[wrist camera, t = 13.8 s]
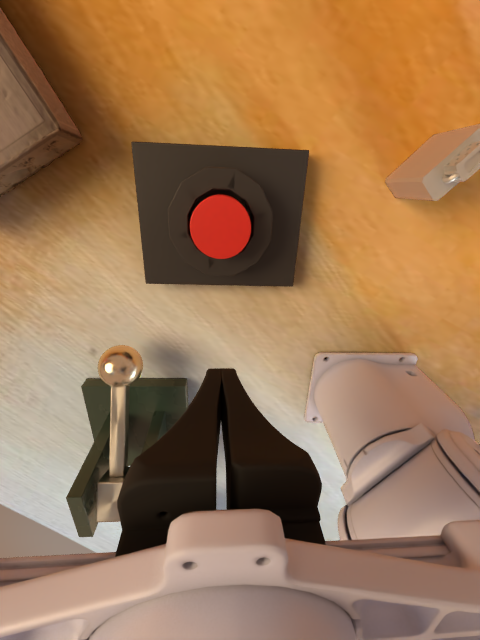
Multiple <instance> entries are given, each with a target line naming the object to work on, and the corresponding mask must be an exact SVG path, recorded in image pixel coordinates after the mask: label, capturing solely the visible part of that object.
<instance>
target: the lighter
mask: <svg viewBox="0 0 480 640" xmlns="http://www.w3.org/2000/svg"><path fill="white" fill-rule="evenodd" d="M479 169H480V124H477V125H473V126H469V127H465V128H460V129H456V130H452V131H448V132H443V133H439V134H435V135H433V136H432V137H431V138H430V139H428V140H427V141H426V142H425V143H424V144H423V145H422V146H421V147H420V148H419V149H418V150H416V151H415V152H414V153H413V154H412V155H411V156H410V157H409V158H408V159H407V160H406V161H404V162H403V163H402V164H401V165H400V166H399V167H398V168H397V169H396V170H395V171H394V172H393V173H391V174H390V175H389V176H388V177H387V178H386V180H385V183H386V185H387V186H388V188H389V189H390V191H391V192H392V194H393V195H394V197H395V198H406V199H419V200H432V201H438V200H439V199H440V198H441V197H443V196H444V195H445V194H446V193H447V192H449V191H450V190H451V189H452V188H453V187H454V186H456V185H457V184H458V183H459V182H464V181H466V180H467V179H468V178H469V177H471V176H472V175H473V174H474V173H475V172H477V171H478V170H479Z"/></svg>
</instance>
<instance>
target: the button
mask: <svg viewBox="0 0 480 640" xmlns="http://www.w3.org/2000/svg"><path fill="white" fill-rule="evenodd" d="M190 233H191V237H192V240H193V242H194V244H195V245H196V246H197V248H198V249H199V250H200V251H201V252H202V253H204V254H205V255H207V256H209V257H212V258H216V259H226V258H230V257H233V256H235V255H237V254H238V253H240V252H241V251H242V250H243V249H244V248H245V246H246V245H247V243H248V241H249V238H250V235H251V221H250V217H249V215H248V212H247V211H246V209H245V208H244V206H243V205H242V204H241V203H240V202H239V201H238V200H236V199H235V198H233V197H231V196H228V195H223V194H217V195H212V196H209V197H207V198H206V199H204V200H203V201H202V202H200V203H199V204H198V205H197V207H196V208H195V210H194V211H193V213H192V216H191V219H190Z"/></svg>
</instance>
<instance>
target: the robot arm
mask: <svg viewBox="0 0 480 640" xmlns="http://www.w3.org/2000/svg"><path fill="white" fill-rule="evenodd" d="M325 357H328V358H327V359H324V358H325ZM401 357H402V358H401ZM400 358H401V359H400ZM399 359H400V360H399ZM416 362H417V356H416V355H415V354H414V353H323V352H320V353H317V354H316V355H315V357H314V362H313V367H312V373H311V379H310V385H309V391H308V397H307V403H306V408H305V414H304V419H305V421H306V422H323V423H324V426H325V428H326V430H327V433H328V435H329V438H330V440H331V442H332V445H333V447H334V450H335V452H336V454H337V457H338V459H339V462H340V464H341V467H342V469H343V471H344V474H345V476H346V479H347V481H346V482H345V484H344V485H343V486H342V487H341V491H342V493H343V496H344V498H345V501H346V504H347V505H345V506H344V507H343V508H341V510H340V512H339V514H338V531H339V536H340V540H339V541H325V540H324V537H323V533H322V530H321V526H320V523H319V521H320V514H319V511H318V507H317V506H318V502H319V498H320V494H321V489H322V483H321V480H320V476H319V474H318V471H317V469H316V467H315V465H314V463H313V461H312V459H311V457H310V456H309V454H308V453H307V452H306V451H304V450H303V449H301V448H300V447H298V446H297V445H295V444H294V443H292V442H291V441H290V440H288V439H287V438H286V437H284V436H283V435H282V434H281V433H280V432H279V431H278V430H277V429H275V428H274V427H273V426H272V425H271V424H270V423H269V422H268V421H267V420H266V418H265V417H264V416H263V415H262V414H261V413H260V411H259V410H258V409H257V408H256V406H255V405H254V404H253V402H252V401H251V399H250V398H249V396H248V395H247V393H246V391H245V390H244V388H243V386H242V384H241V382H240V380H239V378H238V376H237V373H236V370H235V369H208V370H207V372H206V376H205V378H204V381H203V383H202V385H201V387H200V389H199V390H198V392H197V394H196V396H195V397H194V399H193V401H192V402H191V404H190V405H189V407H188V408H187V409H186V411H185V412H184V413H183V415H182V416H181V417H180V418H179V420H178V421H177V422H176V423H175V424H174V425H173V426H172V428H171V429H170V430H169V431H168V432H167V433H166V434H165V435H163V436H162V437H161V438H160V439H159V440H158V441H157V442H156V443H155V444H153V445H152V446H151V447H150V448H148V449H147V450H146V451H144V452H143V453H142V454H140V455H139V456H138V457H136V458H135V459H134V461H133V463H132V464H131V466H130V468H129V470H128V472H127V474H126V477H125V479H124V481H123V484H122V487H121V490H120V493H119V497H118V500H117V508H118V513H119V517H120V521H121V526H122V533H121V537H120V541H119V544H118V548H117V551H116V552H109V553H90V554H70V555H52V556H32V557H13V558H0V640H480V445H479V444H478V443H477V442H475V438H474V434H473V431H472V428H471V426H470V423H469V421H468V419H467V417H466V416H465V414H464V413H463V411H462V410H461V409H460V407H459V406H458V405H457V404H456V403H455V402H454V401H453V400H451V399H450V398H449V397H448V396H447V395H446V394H445V393H444V392H443V391H442V390H441V389H440V388H439V387H438V386H437V385H436V384H435V383H434V382H433V381H431V380H430V379H429V378H428V377H427V376H426V375H425V374H424V373H423V372H422V371H421V370H420V369H419V368H418V367H417V366H416ZM313 417H315V418H313ZM220 424H222V433H223V442H224V451H225V461H226V496H227V510H216V468H217V455H218V444H219V434H220Z"/></svg>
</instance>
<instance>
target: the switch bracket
mask: <svg viewBox="0 0 480 640" xmlns="http://www.w3.org/2000/svg"><path fill="white" fill-rule="evenodd" d="M81 387H82V391H83V396H84V400H85V404H86V408H87V412H88V417H89V421H90V425H91V429H92V433H93V438H94V444H93V445H92V447H91V449H90V451H89V453H88V455H87V457H86V459H85V461H84V463H83V465H82V467H81V469H80V471H79V473H78V475H77V477H76V479H75V481H74V483H73V485H72V487H71V489H70V491H69V493H68V495H67V497H66V499H67V502H68V505H69V508H70V511H71V514H72V517H73V520H74V523H75V526H76V529H77V532H78V535H79V537H93V535H94V532H95V530H96V527H97V524H98V522H96V514H97V483H98V481H99V480H100V479H101V478H102V476H103V475H104V474H105V473H106V471H107V470H108V469H109V454H110V412H111V386H109V385H107V384H106V383H105V382H103V381H102V379H101V378H87V379H86V381H85V382H84V383H83V385H82V386H81ZM187 408H188V387H187V379H186V378H138V379H137V380H136V381H135V382H134V383H133V384H131V385H130V390H129V436H128V466H131V464H132V463H133V461H134V459H135V458H136V457H138V456H139V455H140V454H142V453H143V452H144V451H146V450H147V449H148V448H150V447H151V446H152V445H153V444H155V443H156V442H157V441H158V440H159V439H160V438H161V437H162V436H163V435H165V434H166V433H167V432H168V431H169V430H170V429H171V428H172V426H173V425H174V424H175V423H176V422H177V421H178V420H179V418H180V417H181V416H182V415H183V413H184V412H185V411H186V409H187Z"/></svg>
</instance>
